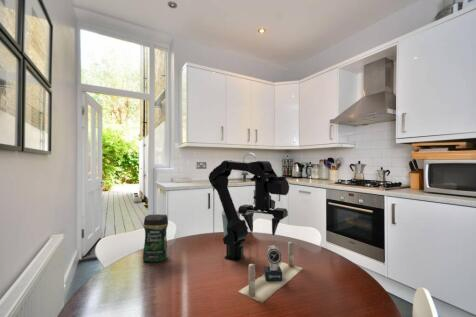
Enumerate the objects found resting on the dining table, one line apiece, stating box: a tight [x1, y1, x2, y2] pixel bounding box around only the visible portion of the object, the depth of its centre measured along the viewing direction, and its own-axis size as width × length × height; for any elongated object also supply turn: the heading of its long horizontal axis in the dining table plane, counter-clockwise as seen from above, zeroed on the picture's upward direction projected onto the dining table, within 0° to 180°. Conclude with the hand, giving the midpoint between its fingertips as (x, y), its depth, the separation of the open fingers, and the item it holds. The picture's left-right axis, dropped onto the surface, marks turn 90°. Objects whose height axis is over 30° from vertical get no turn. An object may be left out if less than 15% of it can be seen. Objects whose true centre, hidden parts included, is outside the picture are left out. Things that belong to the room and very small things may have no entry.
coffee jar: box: [142, 213, 169, 263], centre depth 98 cm, size 10×8×19 cm
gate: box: [238, 241, 304, 304], centre depth 81 cm, size 9×28×10 cm, turn 141°
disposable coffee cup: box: [220, 209, 241, 237], centre depth 128 cm, size 11×11×15 cm
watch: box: [263, 245, 283, 281], centre depth 81 cm, size 6×8×11 cm
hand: (262, 233), depth 90 cm, fingers open, 9 cm apart
